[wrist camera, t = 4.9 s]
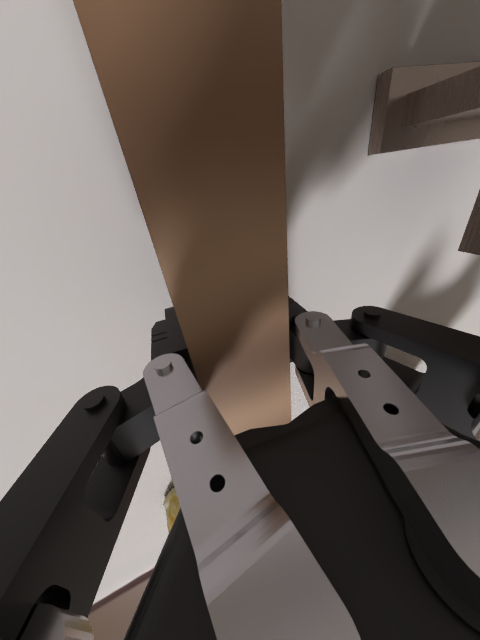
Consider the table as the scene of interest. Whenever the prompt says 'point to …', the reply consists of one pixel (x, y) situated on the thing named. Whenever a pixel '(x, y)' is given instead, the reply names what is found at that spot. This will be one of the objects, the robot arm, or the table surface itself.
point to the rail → (208, 180)
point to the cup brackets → (429, 117)
